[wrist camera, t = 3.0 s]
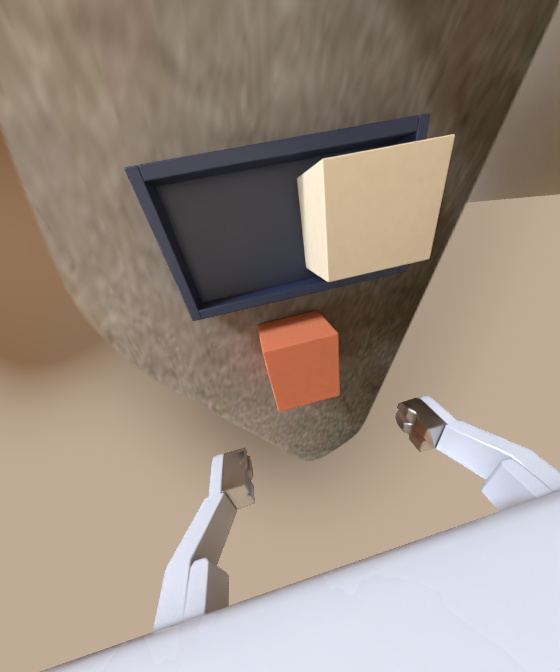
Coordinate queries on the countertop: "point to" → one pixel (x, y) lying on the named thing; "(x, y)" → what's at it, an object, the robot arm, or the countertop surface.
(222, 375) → the countertop surface
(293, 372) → the orange block
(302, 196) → the cream block
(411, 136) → the frame
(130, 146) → the countertop surface
